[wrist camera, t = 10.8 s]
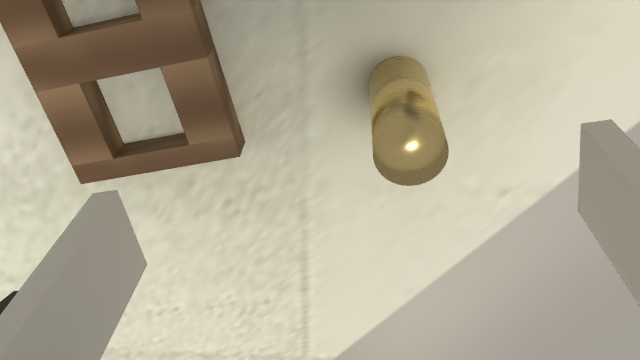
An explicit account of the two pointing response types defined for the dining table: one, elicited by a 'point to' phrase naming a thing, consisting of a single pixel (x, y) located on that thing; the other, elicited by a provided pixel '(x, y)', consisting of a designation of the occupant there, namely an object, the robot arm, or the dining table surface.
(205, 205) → the dining table surface
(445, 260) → the dining table surface
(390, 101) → the peg
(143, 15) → the board
